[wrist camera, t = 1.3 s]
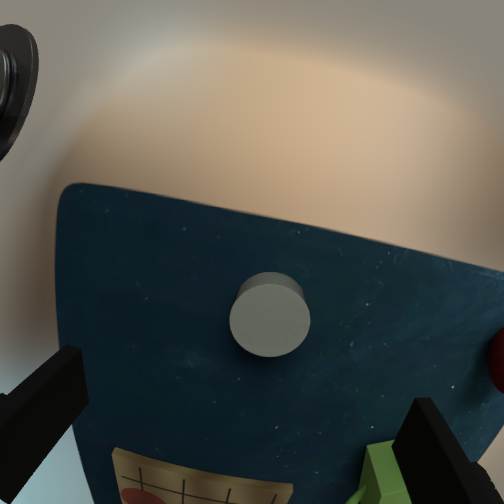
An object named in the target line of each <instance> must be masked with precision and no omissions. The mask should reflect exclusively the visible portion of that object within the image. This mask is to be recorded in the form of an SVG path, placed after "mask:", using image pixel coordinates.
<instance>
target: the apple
mask: <svg viewBox="0 0 504 504" xmlns="http://www.w3.org/2000/svg"><path fill="white" fill-rule="evenodd" d="M488 370H489V375H490V377H491V380H492V382H493V384H494V385H495V387H496V388H497V389H498V390H499V391H500V392H502V393H503V394H504V327H503V328H502V329H501V330H500V331H499V332H498V333H497V334H496V335H495V336H494V338H493V340H492V341H491V344H490V347H489V352H488Z"/></svg>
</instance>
